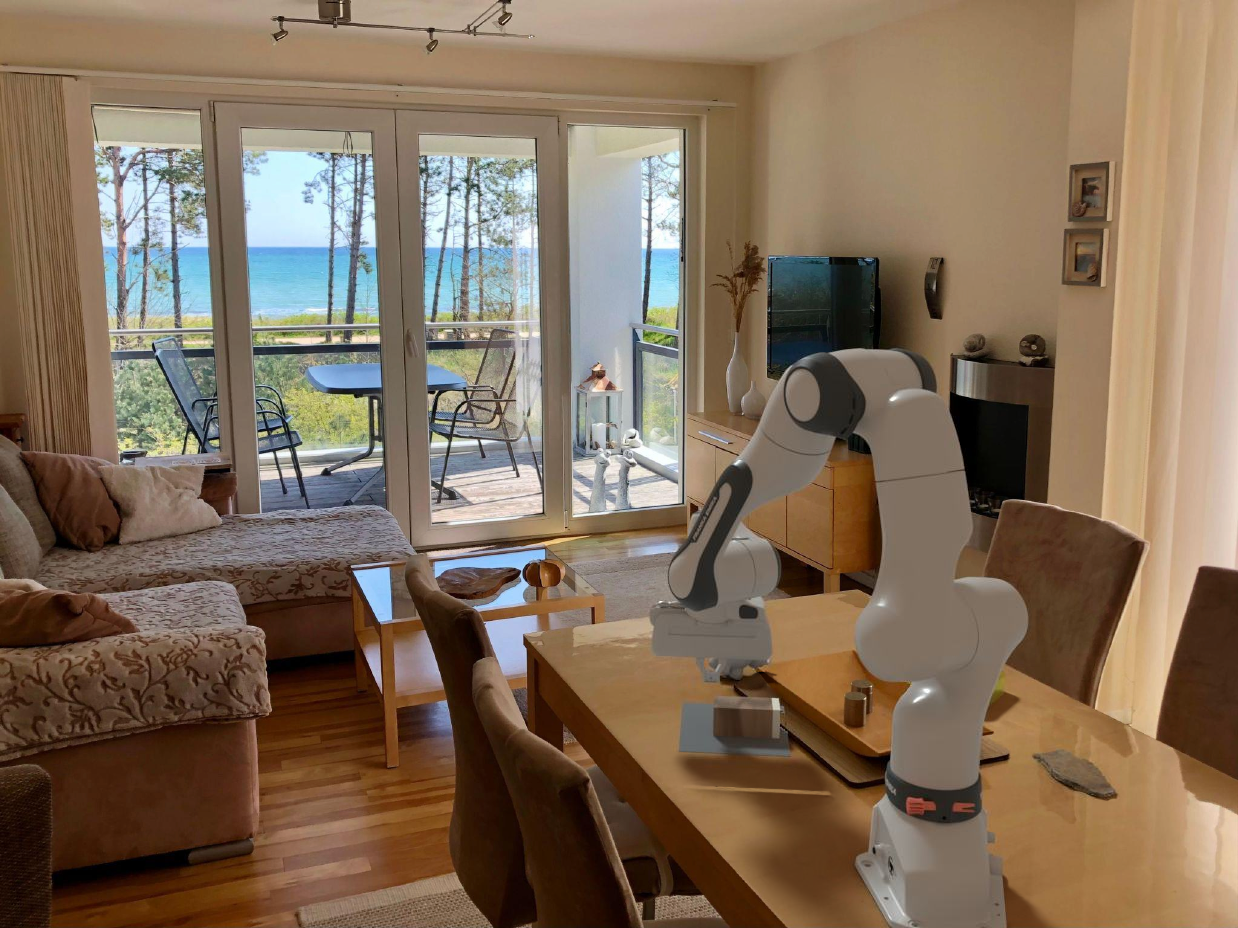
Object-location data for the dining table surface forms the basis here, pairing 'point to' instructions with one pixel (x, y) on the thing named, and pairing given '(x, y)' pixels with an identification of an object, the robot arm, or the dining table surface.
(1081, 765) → the grey flat rock
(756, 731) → the walnut block
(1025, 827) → the dining table surface
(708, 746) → the rubber mat
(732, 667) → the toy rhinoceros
